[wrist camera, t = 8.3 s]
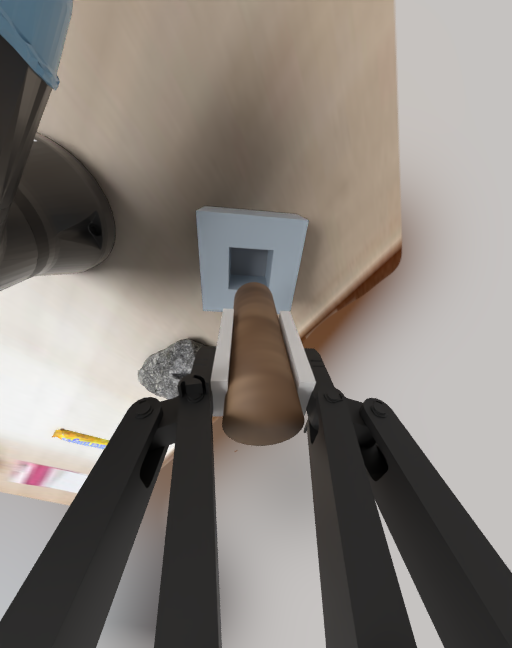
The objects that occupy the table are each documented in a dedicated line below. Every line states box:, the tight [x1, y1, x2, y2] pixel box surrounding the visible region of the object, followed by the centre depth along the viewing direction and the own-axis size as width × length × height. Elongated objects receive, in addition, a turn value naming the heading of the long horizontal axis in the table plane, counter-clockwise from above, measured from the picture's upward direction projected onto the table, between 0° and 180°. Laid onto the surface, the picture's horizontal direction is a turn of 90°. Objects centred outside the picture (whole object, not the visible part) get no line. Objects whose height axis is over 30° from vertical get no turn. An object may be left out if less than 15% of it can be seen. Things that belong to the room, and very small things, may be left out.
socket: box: [196, 206, 309, 314], centre depth 27 cm, size 12×12×6 cm
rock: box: [138, 339, 204, 400], centre depth 38 cm, size 13×13×10 cm
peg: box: [222, 282, 304, 446], centre depth 14 cm, size 4×4×12 cm
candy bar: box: [52, 430, 109, 449], centre depth 55 cm, size 17×4×2 cm, turn 53°
